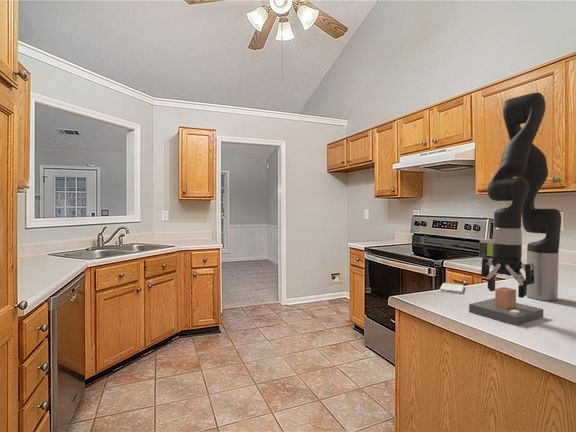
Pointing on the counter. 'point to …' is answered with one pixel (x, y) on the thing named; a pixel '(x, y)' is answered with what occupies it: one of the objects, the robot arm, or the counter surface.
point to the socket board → (506, 312)
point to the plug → (505, 297)
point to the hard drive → (452, 288)
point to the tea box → (486, 249)
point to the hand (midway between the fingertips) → (506, 293)
